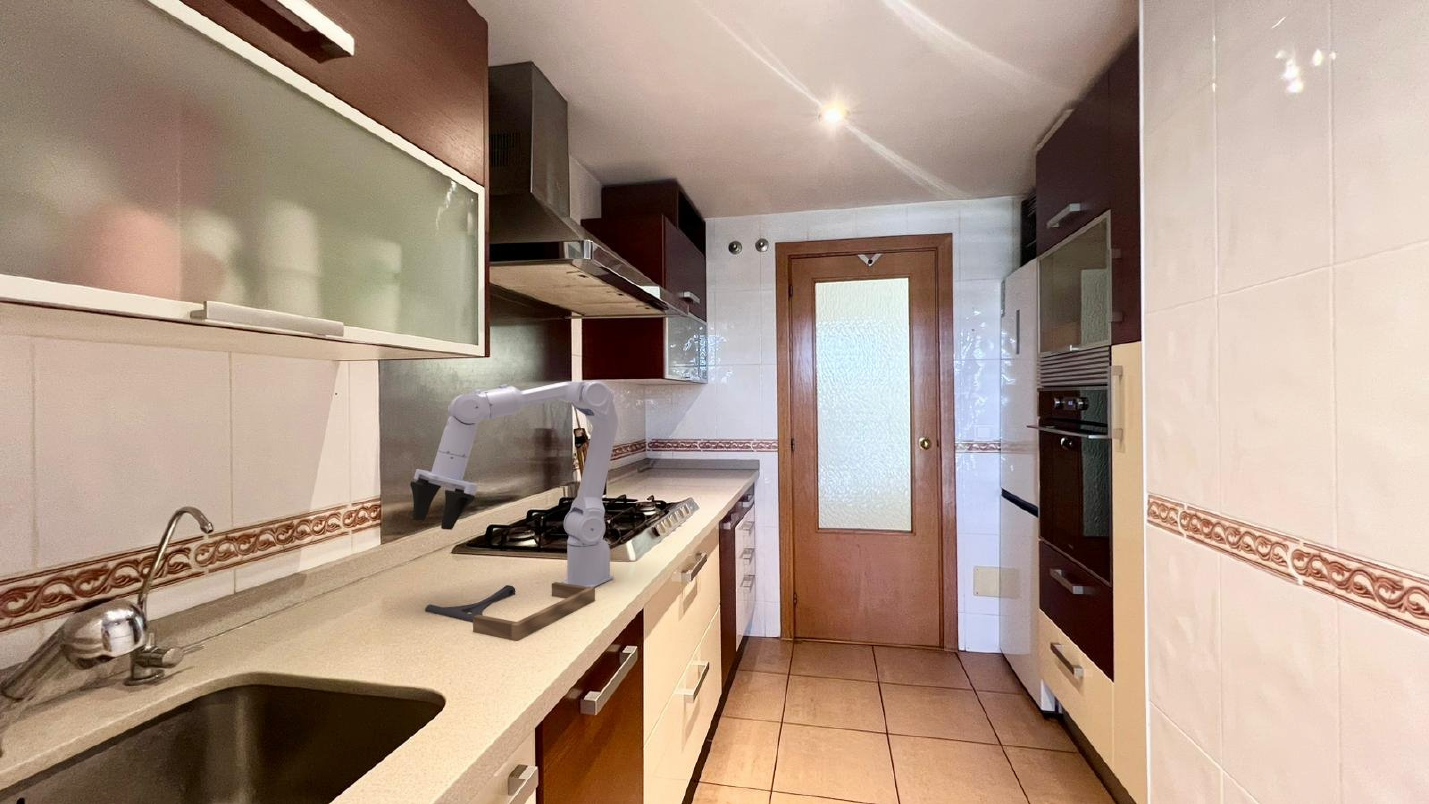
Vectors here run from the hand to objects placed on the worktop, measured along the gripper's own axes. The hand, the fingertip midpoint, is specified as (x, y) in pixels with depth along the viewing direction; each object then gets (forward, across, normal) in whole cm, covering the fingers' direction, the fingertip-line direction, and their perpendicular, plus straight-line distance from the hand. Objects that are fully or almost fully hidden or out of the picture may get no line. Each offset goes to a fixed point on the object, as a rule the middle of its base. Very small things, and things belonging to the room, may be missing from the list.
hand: (432, 524), depth 108 cm
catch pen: (+11, +22, +9) cm, 27 cm away
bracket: (+14, +9, +10) cm, 19 cm away
